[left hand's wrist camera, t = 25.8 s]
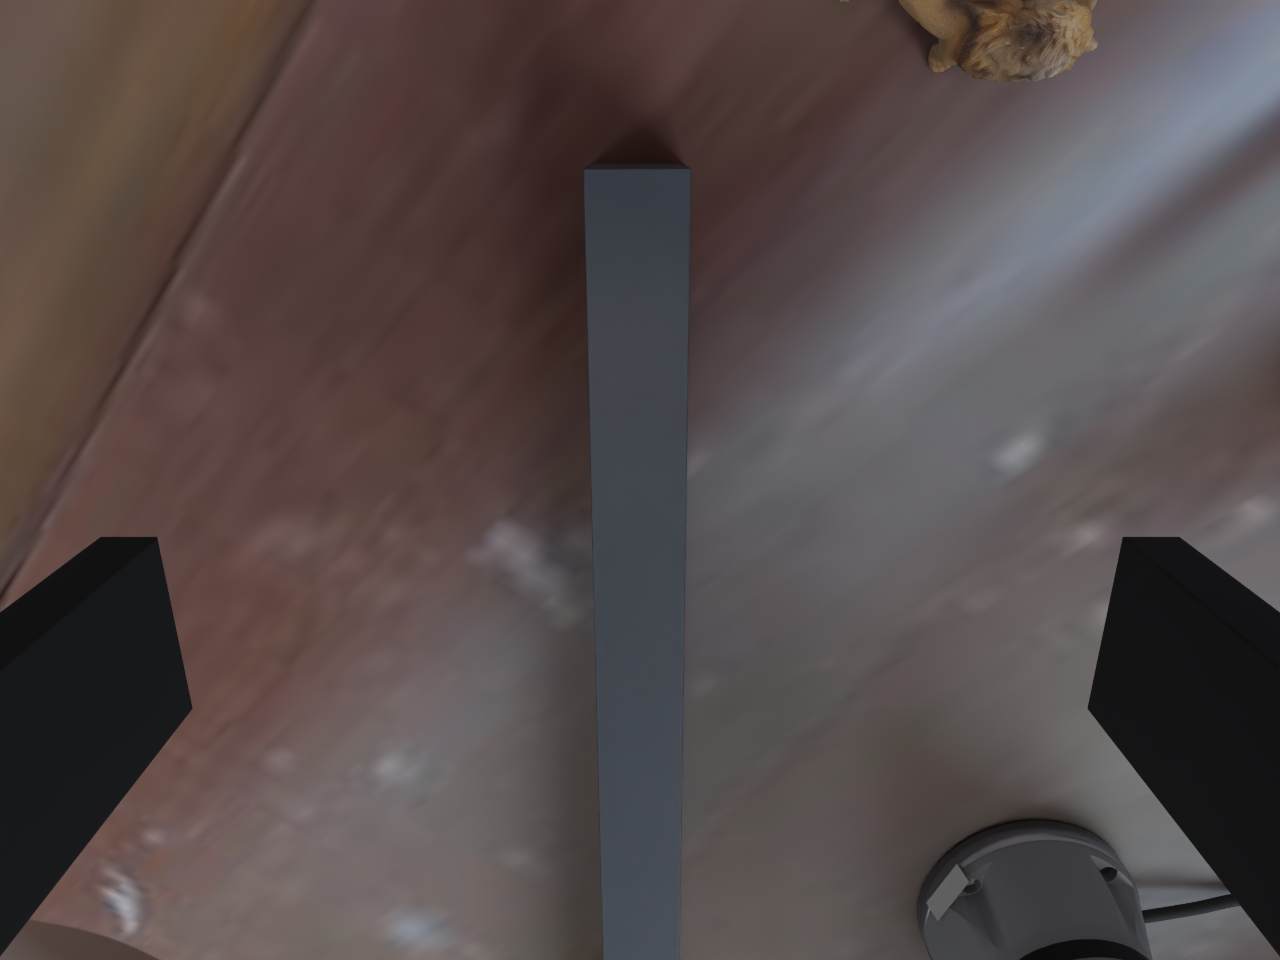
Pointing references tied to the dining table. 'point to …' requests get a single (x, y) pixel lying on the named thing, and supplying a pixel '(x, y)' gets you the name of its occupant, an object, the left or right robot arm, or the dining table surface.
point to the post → (639, 539)
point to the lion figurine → (1006, 35)
